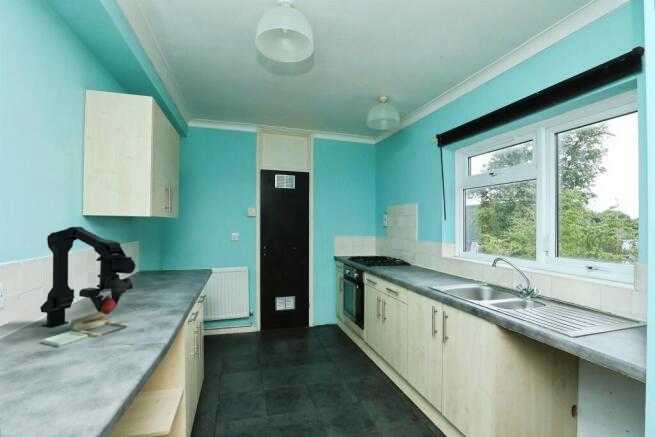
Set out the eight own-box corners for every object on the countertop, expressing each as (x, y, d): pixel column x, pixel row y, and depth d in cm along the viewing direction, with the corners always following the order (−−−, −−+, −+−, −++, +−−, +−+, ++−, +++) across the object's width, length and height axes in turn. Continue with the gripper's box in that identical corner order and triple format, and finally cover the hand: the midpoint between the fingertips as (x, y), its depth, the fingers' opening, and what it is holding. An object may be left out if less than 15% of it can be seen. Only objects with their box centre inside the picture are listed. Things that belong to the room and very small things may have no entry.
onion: (106, 317, 123) (106, 297, 123) (94, 316, 124) (95, 296, 125) (118, 313, 129) (119, 294, 129) (107, 312, 130) (108, 293, 130)
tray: (41, 342, 112) (41, 339, 112) (70, 334, 121) (70, 331, 121) (59, 346, 109) (59, 343, 109) (87, 337, 118) (87, 334, 118)
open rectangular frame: (70, 332, 124) (71, 319, 124) (103, 322, 136) (103, 311, 136) (97, 337, 119) (98, 324, 119) (129, 326, 132) (129, 315, 132)
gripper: (99, 277, 116) (98, 318, 115) (143, 270, 133) (141, 306, 133) (79, 274, 119) (77, 315, 119) (123, 268, 137) (122, 303, 137)
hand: (106, 309), depth 127 cm, fingers closed on onion, 6 cm apart
